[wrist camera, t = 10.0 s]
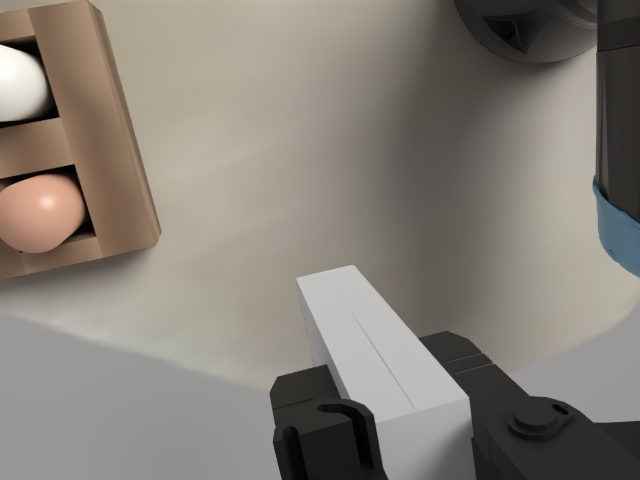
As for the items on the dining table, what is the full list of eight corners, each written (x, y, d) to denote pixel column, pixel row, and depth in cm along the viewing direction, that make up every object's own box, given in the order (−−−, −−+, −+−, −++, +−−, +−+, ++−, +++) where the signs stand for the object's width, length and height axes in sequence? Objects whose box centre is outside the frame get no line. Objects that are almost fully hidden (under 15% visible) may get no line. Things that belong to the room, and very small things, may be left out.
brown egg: (82, 164, 38) (57, 174, 32) (100, 224, 39) (79, 244, 33) (17, 177, 37) (-20, 189, 32) (37, 237, 38) (5, 260, 33)
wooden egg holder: (101, 12, 37) (86, -1, 33) (161, 232, 41) (154, 246, 37) (-83, 42, 36) (-124, 33, 31) (-2, 267, 40) (-28, 286, 36)
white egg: (46, 46, 36) (13, 34, 30) (66, 113, 37) (38, 113, 31) (-23, 58, 35) (-70, 48, 29) (-1, 125, 36) (-42, 128, 31)
